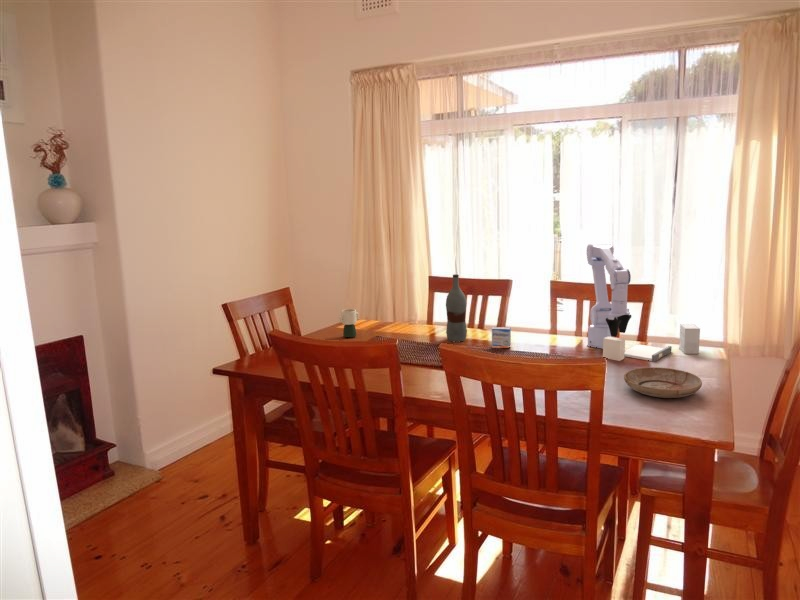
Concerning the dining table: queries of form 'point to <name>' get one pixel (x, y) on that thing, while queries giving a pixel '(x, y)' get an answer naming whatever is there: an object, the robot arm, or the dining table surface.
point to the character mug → (349, 321)
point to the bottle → (456, 313)
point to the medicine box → (501, 336)
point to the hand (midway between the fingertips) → (618, 334)
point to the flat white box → (647, 352)
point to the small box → (689, 338)
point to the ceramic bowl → (663, 382)
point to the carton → (614, 348)
